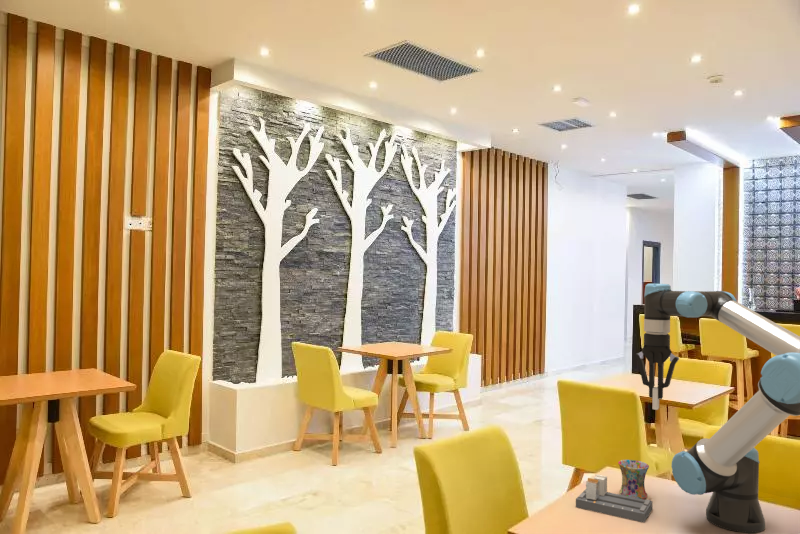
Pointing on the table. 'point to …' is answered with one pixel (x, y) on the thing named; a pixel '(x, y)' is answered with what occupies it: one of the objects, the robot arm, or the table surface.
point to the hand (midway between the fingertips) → (655, 408)
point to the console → (615, 503)
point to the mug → (633, 478)
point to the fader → (592, 489)
